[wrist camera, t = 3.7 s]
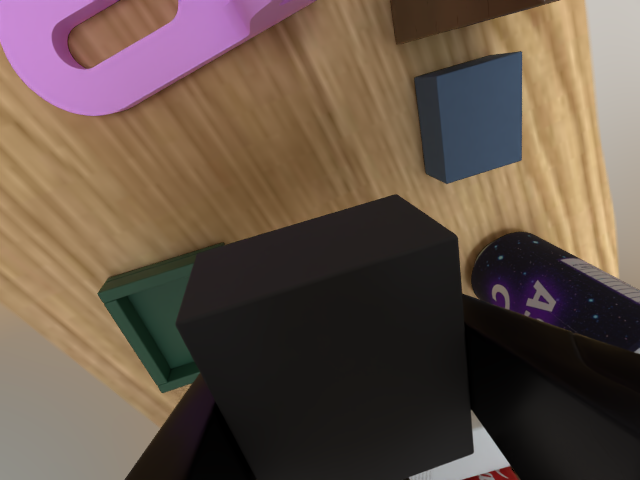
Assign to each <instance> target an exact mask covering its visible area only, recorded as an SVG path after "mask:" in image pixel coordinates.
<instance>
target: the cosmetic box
mask: <svg viewBox="0 0 640 480" xmlns="http://www.w3.org/2000/svg"><path fill="white" fill-rule="evenodd" d="M471 418H472V432H473V445H474V453H473V454H472V455H469V456H466V457H463V458H461V459H458V460H455V461H452V462H450V463H447V464H444V465H441V466H439V467H436V468H433V469H431V470H428V471H425V472H422V473H420V474H417V475H414V476H411V477H409V479H410V480H462V479H466V478H469V477H473V476H476V475H480V474H483V473H487V472H491V471H494V470H498V469H501V468H505V467H508V466H511V465H510V464H509V462H508V461H507V460H506V458H505V457H504V455H503V454H502V453H501V451H500V450H499V448H498V447H497V445H496V444H495V443H494V441H493V440H492V438H491V437H490V436H489V434H488V433H487V431H486V430H485V428H484V427H483V426H482V424H481V423H480V421H479V420H478V419H477V417H476V416H475V414H474V413H473V411H472V410H471Z"/></svg>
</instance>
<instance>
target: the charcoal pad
mask: <svg viewBox="0 0 640 480" xmlns="http://www.w3.org/2000/svg"><path fill="white" fill-rule="evenodd" d="M175 326H176V328H177V329H178V331H179V333H180V335H181V337H182V339H183V341H184V343H185V345H186V347H187V348H188V350H189V352H190V354H191V356H192V358H193V360H194V362H195V364H196V366H197V367H198V369H199V371H200V373H201V375H202V377H203V379H204V381H205V383H206V385H207V386H208V388H209V390H210V392H211V394H212V396H213V398H214V400H215V402H216V404H217V406H218V407H219V409H220V411H221V413H222V415H223V417H224V419H225V421H226V423H227V425H228V426H229V428H230V430H231V432H232V434H233V436H234V438H235V440H236V442H237V444H238V445H239V447H240V449H241V451H242V453H243V455H244V457H245V459H246V461H247V463H248V464H249V466H250V468H251V470H252V472H253V474H254V476H255V478H256V480H403V479H406V478H409V477H411V476H414V475H417V474H420V473H422V472H425V471H428V470H431V469H433V468H436V467H439V466H441V465H444V464H447V463H450V462H452V461H455V460H458V459H461V458H463V457H466V456H469V455H472V454H473V453H474V445H473V432H472V418H471V405H470V392H469V379H468V366H467V353H466V339H465V326H464V313H463V300H462V287H461V273H460V260H459V247H458V237H457V236H456V235H455V234H454V233H453V232H451V231H450V230H448V229H447V228H445V227H444V226H442V225H441V224H439V223H438V222H437V221H435V220H434V219H432V218H431V217H429V216H428V215H426V214H425V213H423V212H422V211H420V210H419V209H418V208H416V207H415V206H413V205H412V204H410V203H409V202H407V201H406V200H404V199H403V198H402V197H400V196H399V195H397V194H395V195H391V196H388V197H385V198H381V199H378V200H375V201H371V202H368V203H365V204H361V205H358V206H355V207H351V208H348V209H344V210H341V211H338V212H334V213H331V214H328V215H324V216H321V217H318V218H314V219H311V220H308V221H304V222H301V223H298V224H294V225H291V226H287V227H284V228H281V229H277V230H274V231H271V232H267V233H264V234H261V235H257V236H254V237H251V238H247V239H244V240H241V241H237V242H234V243H230V244H227V245H224V246H220V247H217V248H214V249H210V250H207V251H204V252H200V253H198V254H197V255H196V258H195V261H194V264H193V268H192V271H191V274H190V277H189V280H188V284H187V287H186V290H185V293H184V296H183V300H182V303H181V306H180V309H179V313H178V316H177V319H176V322H175Z"/></svg>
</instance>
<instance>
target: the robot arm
mask: <svg viewBox="0 0 640 480" xmlns="http://www.w3.org/2000/svg"><path fill="white" fill-rule="evenodd" d="M462 300H463V313H464V326H465V339H466V353H467V366H468V379H469V392H470V405H471V410H472V411H473V413H474V414H475V416H476V417H477V419H478V420H479V421H480V423H481V424H482V426H483V427H484V428H485V430H486V431H487V433H488V434H489V436H490V437H491V438H492V440H493V441H494V443H495V444H496V445H497V447H498V448H499V450H500V451H501V453H502V454H503V455H504V457H505V458H506V460H507V461H508V462H509V464H510V465H511V467H512V468H513V470H514V471H515V472H516V474H517V475H518V477H519V478H520V479H521V480H640V354H638V353H635V352H631V351H628V350H625V349H622V348H619V347H616V346H613V345H610V344H607V343H604V342H601V341H598V340H595V339H592V338H589V337H586V336H583V335H581V334H578V333H575V334H574V335H573V333H572V332H571V331H569V330H566V329H563V328H560V327H557V326H554V325H551V324H549V323H546V322H543V321H540V320H537V319H534V318H531V317H528V316H526V315H523V314H520V313H517V312H514V311H511V310H508V309H505V308H503V307H500V306H497V305H494V304H491V303H488V302H485V301H482V300H480V299H477V298H474V297H471V296H468V295H465V294H462ZM125 480H256V478H255V476H254V474H253V472H252V470H251V468H250V466H249V464H248V463H247V461H246V459H245V457H244V455H243V453H242V451H241V449H240V447H239V445H238V444H237V442H236V440H235V438H234V436H233V434H232V432H231V430H230V428H229V426H228V425H227V423H226V421H225V419H224V417H223V415H222V413H221V411H220V409H219V407H218V406H217V404H216V402H215V400H214V398H213V396H212V394H211V392H210V390H209V388H208V386H207V385H206V383H205V381H204V379H203V377H202V375H201V373H199V375H198V376H197V378H196V379H195V380H194V382H193V383H192V385H191V386H190V388H189V389H188V390H187V392H186V393H185V395H184V396H183V397H182V399H181V400H180V402H179V403H178V405H177V406H176V407H175V409H174V410H173V412H172V413H171V414H170V416H169V417H168V419H167V420H166V422H165V423H164V424H163V426H162V427H161V429H160V430H159V431H158V433H157V434H156V436H155V437H154V439H153V440H152V441H151V443H150V445H149V446H148V447H147V449H146V450H145V451H144V453H143V454H142V456H141V457H140V459H139V460H138V461H137V463H136V464H135V466H134V467H133V468H132V470H131V471H130V473H129V474H128V476H127V477H126V478H125ZM403 480H410V479H409V478H406V479H403Z"/></svg>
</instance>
